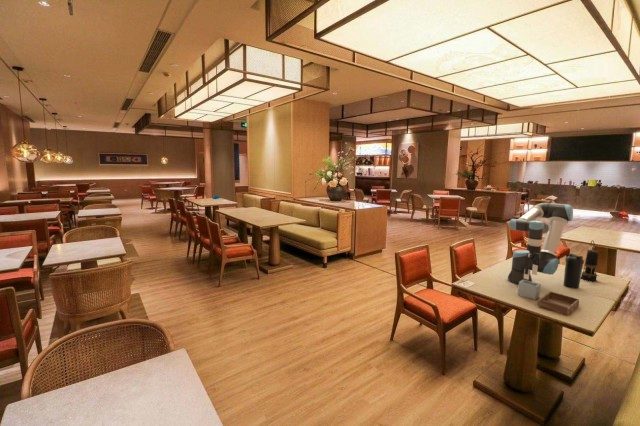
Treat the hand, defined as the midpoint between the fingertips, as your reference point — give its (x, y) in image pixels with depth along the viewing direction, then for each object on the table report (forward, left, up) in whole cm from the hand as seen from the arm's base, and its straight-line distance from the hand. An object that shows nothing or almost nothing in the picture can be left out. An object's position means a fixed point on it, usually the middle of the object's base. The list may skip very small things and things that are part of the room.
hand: (530, 276), depth 203 cm
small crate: (0, 0, -13) cm, 13 cm away
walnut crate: (+2, +17, -13) cm, 22 cm away
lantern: (-69, +16, -14) cm, 72 cm away
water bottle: (-43, +12, -14) cm, 47 cm away
